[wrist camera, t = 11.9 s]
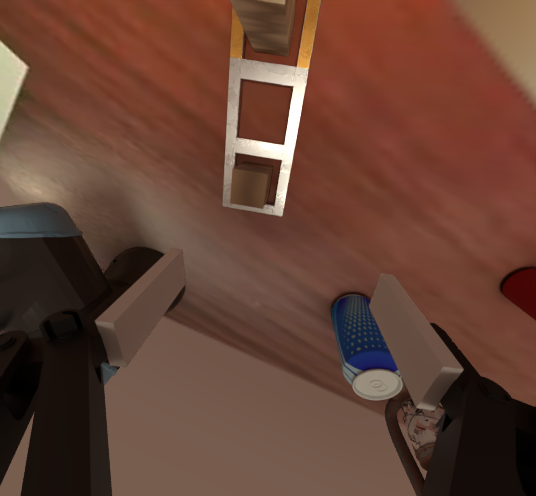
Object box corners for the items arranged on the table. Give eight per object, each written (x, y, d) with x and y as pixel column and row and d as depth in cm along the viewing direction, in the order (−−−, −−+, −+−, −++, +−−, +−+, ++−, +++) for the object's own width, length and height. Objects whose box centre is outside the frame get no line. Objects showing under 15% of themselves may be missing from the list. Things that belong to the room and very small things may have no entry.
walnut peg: (242, 190, 37) (229, 203, 30) (244, 161, 35) (232, 168, 28) (269, 194, 37) (262, 208, 30) (273, 166, 35) (267, 174, 28)
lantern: (453, 373, 51) (706, 754, 19) (390, 401, 57) (506, 719, 26) (423, 348, 48) (657, 735, 17) (361, 380, 55) (450, 702, 24)
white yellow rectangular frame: (224, 203, 39) (222, 206, 37) (238, -33, 26) (234, -43, 24) (282, 213, 38) (282, 216, 37) (324, -21, 26) (326, -30, 24)
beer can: (329, 323, 48) (344, 402, 34) (330, 291, 44) (347, 364, 30) (371, 323, 47) (404, 405, 33) (375, 290, 43) (415, 367, 29)
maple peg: (254, 51, 29) (227, -4, 18) (258, 4, 27) (231, -94, 16) (288, 56, 29) (284, 4, 17) (295, 9, 27) (296, -86, 15)
